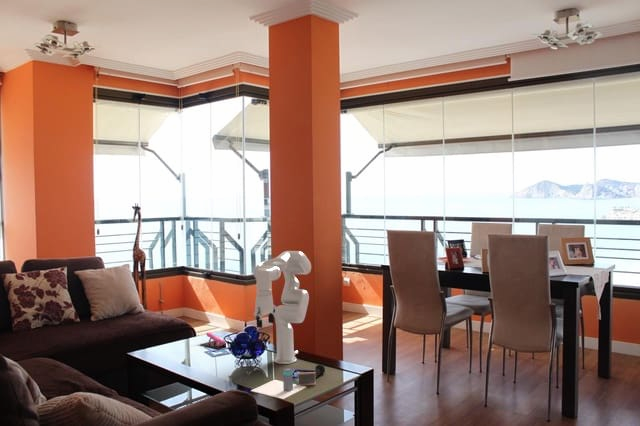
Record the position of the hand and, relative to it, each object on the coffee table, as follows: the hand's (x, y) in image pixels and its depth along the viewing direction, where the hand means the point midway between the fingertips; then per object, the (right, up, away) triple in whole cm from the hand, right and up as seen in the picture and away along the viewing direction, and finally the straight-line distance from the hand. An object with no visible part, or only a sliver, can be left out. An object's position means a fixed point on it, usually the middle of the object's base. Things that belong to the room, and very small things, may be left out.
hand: (265, 325), depth 285 cm
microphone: (+25, -27, -3) cm, 37 cm away
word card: (+22, -27, -13) cm, 37 cm away
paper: (+8, -27, -19) cm, 34 cm away
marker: (+13, -27, -21) cm, 37 cm away
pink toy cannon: (-37, -26, +62) cm, 77 cm away
